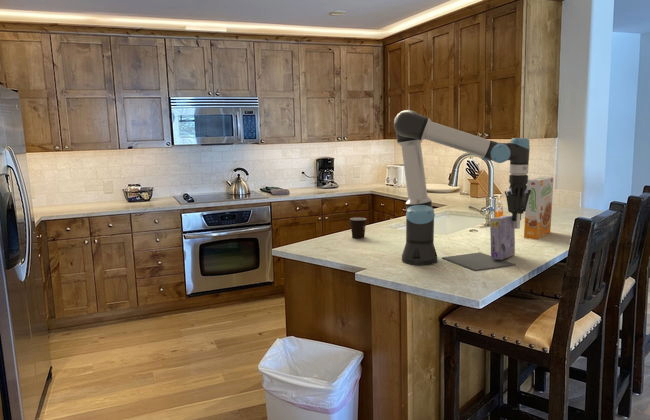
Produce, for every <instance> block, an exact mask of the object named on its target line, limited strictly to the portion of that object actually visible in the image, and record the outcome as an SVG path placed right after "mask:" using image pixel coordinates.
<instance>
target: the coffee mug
mask: <svg viewBox="0 0 650 420" xmlns="http://www.w3.org/2000/svg"><path fill="white" fill-rule="evenodd" d="M349 220H350V221H349V222H350V230H351V238H352V239H354V238H355V239H356V240H362V239H365V235H366V234H365V233H366V227H367V218H365V217H351V218H349ZM361 238H362V239H361ZM355 239H354V240H355Z"/></svg>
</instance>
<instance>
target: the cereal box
mask: <svg viewBox="0 0 650 420" xmlns="http://www.w3.org/2000/svg"><path fill="white" fill-rule="evenodd" d="M526 186H527V189H528V190H531V193H530V195H529V198H528V202H527V206H526V211H525V212H524V228H523V229H524V230H523V231H524V233H523V238H524V239H529V238H531V239H532V240H538V239H540V238H542V237H543V235H544V236H545V234H546V235H548V234H550V233H551V227H552V208H553V195H554V194H553V191H554V176H541V175H540V176H537V177H533V178H528V183H527V184H526ZM549 232H550V233H549ZM547 233H548V234H547ZM541 236H542V237H541ZM539 237H540V238H539ZM531 239H530V240H531Z"/></svg>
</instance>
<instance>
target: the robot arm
mask: <svg viewBox="0 0 650 420" xmlns="http://www.w3.org/2000/svg"><path fill="white" fill-rule="evenodd" d="M393 128H394V130H395V135H396V143H397V144H398V145H399V146H400V147H401V154H402V162H403V170H404V176H405V178H404V179H405V184H406V191H407V192H406V193H407V200H406V202H405V209H406V213H405V218H406V220H405V221H406V223H405V224H406V225H405V226H406V227H405V231H406V232H405V235H406V236H405V238H406V239H405V246H404V248H403V251H402V254H401V262H403V263H405V264H409V265H413V266H430V265H435V264H437V263H438V254H437V250H436V248H435V244H434V241H435V240H434V239H435V237H434V236H435V235H434V234H435V217H436V216H435V215H436V214H435V209H434V208H433V203H432V199H431V198H430V197H429V196H428V190H427V182H426V175H425V166H424V158H423V151H422V142H423V141H424V140H427V141H430V142H433V143H436V144H439V145H443V146H446V147H449V148H453V149H455V150H458V151H461V152H465V153H467V154H471V155H474V156H477V157H479V158H481V159H482V161H489V162H490V161H492V162H495V163H497V164H502V163H505V162H507V161H509V179H508V182H509V184H510V185H509V187H508V190H505V191H504V195H505V197H506V204H507V211H508V213H510V214H511V216H512V221H513V228H515V230H516V229H517V230H519V229H521V221H522V215H523V214H525V211H526V206H527V202H528V198H529V195H530V193H531V190H528V189H527V183H528V179H529V175H528V174H529V165H530V163H529V162H530V161H529V160H530V150H531V148H530V139H529V138H527V137H517V138H516V137H515V138H514V137H513V138H511V139H510V142H497V141H495V140H491V139H487V138H485V137H483V136H482V137H481V136H477V135H475V134H473V133H468V132H466V131H462V130H459V129H456V128H453V127H450V126H447V125H443V124H440V123H437V122H434V121H432V120H431V118H430V117H427V116H424V115H422V114H420V113H418V112H417V111H414V110H412V109H404V110H402V111H400V112H398V113H397V114H396V116H395V117H394V121H393Z"/></svg>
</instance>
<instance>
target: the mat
mask: <svg viewBox="0 0 650 420" xmlns="http://www.w3.org/2000/svg"><path fill="white" fill-rule="evenodd" d="M441 259H442V260H445V261H447V262H450V263H452V264H455V265H458V266H459V267H463V268H465V269H468V270H471V271H473V272H479V271H486V270H491V269H492V270H493V269H500V268H505V267H506V268H507V267H513V266H516V263H514V262H511V261H508V260H505V259H502V260H495V259H491V254H486V253H483V252H480V251H479V252H473V253H466V254H465V253H463V254H457V255H451V256H450V255H448V256H442V257H441Z"/></svg>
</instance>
